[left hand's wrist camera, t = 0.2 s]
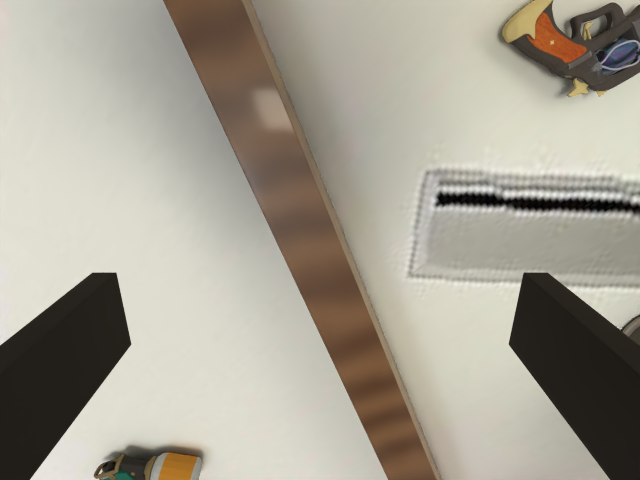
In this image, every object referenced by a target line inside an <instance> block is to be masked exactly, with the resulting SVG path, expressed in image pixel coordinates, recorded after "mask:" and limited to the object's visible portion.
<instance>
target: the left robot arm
mask: <svg viewBox="0 0 640 480" xmlns="http://www.w3.org/2000/svg"><path fill="white" fill-rule="evenodd" d="M130 345H131V341H130V336H129V331H128V326H127V322H126V317H125V312H124V307H123V302H122V298H121V293H120V288H119V283H118V279H117V274H116V273H92V274H90V275H89V276H88V277H86V278H85V279H84V280H83V281H81V282H80V283H79V284H78V285H76V286H75V287H74V288H73V289H71V290H70V291H69V292H67V293H66V294H65V295H64V296H62V297H61V298H60V299H59V300H57V301H56V302H55V303H54V304H52V305H51V306H50V307H49V308H47V309H46V310H45V311H43V312H42V313H41V314H40V315H38V316H37V317H36V318H35V319H33V320H32V321H31V322H30V323H28V324H27V325H26V326H24V327H23V328H22V329H21V330H19V331H18V332H17V333H16V334H14V335H13V336H12V337H11V338H9V339H8V340H7V341H6V342H4V343H3V344H2V345H0V480H30V479H31V477H32V476H33V475H34V473H35V472H36V471H37V469H38V468H39V467H40V465H41V464H42V463H43V461H44V460H45V459H46V457H47V456H48V455H49V453H50V452H51V451H52V449H53V448H54V447H55V445H56V444H57V443H58V441H59V440H60V439H61V437H62V436H63V435H64V433H65V432H66V431H67V429H68V428H69V427H70V425H71V424H72V423H73V421H74V420H75V419H76V417H77V416H78V415H79V413H80V412H81V411H82V409H83V408H84V407H85V405H86V404H87V403H88V401H89V400H90V399H91V397H92V396H93V395H94V393H95V392H96V391H97V389H98V388H99V387H100V385H101V384H102V383H103V381H104V380H105V379H106V377H107V376H108V375H109V373H110V372H111V371H112V369H113V368H114V367H115V365H116V364H117V363H118V361H119V360H120V359H121V357H122V356H123V355H124V353H125V352H126V351H127V349H128V348H129V347H130ZM509 345H510V347H511V348H512V349H513V351H514V352H515V353H516V355H517V356H518V357H519V359H520V360H521V361H522V363H523V364H524V365H525V367H526V368H527V369H528V371H529V372H530V373H531V375H532V376H533V377H534V379H535V380H536V381H537V383H538V384H539V385H540V387H541V388H542V389H543V391H544V392H545V393H546V395H547V396H548V397H549V399H550V400H551V401H552V403H553V404H554V405H555V407H556V408H557V409H558V411H559V412H560V413H561V415H562V416H563V417H564V419H565V420H566V421H567V423H568V424H569V425H570V427H571V428H572V429H573V431H574V432H575V433H576V435H577V436H578V437H579V439H580V440H581V441H582V443H583V444H584V445H585V447H586V448H587V449H588V451H589V452H590V453H591V455H592V456H593V457H594V459H595V460H596V461H597V463H598V464H599V465H600V467H601V468H602V469H603V471H604V472H605V473H606V475H607V476H608V477H609V479H610V480H640V345H638V344H637V343H636V342H634V341H633V340H632V339H631V338H629V337H628V336H627V335H626V334H624V333H623V332H622V331H621V330H619V329H618V328H617V327H616V326H614V325H613V324H612V323H610V322H609V321H608V320H607V319H605V318H604V317H603V316H602V315H600V314H599V313H598V312H597V311H595V310H594V309H593V308H591V307H590V306H589V305H588V304H586V303H585V302H584V301H583V300H581V299H580V298H579V297H578V296H576V295H575V294H574V293H573V292H571V291H570V290H569V289H567V288H566V287H565V286H564V285H562V284H561V283H560V282H559V281H557V280H556V279H555V278H554V277H552V276H551V275H550V274H548V273H524V274H523V279H522V283H521V288H520V293H519V298H518V302H517V307H516V312H515V317H514V322H513V326H512V331H511V336H510V341H509Z"/></svg>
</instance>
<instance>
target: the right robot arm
mask: <svg viewBox="0 0 640 480" xmlns="http://www.w3.org/2000/svg"><path fill="white" fill-rule="evenodd" d="M622 332H623V333H624V334H626V335H627V336H628V337H629V338H631V339H632V340H633V341H634V342H636V343H637V344H638V345H640V316H639V317H638V318H636V319H635V320H633V321H632V322H631V323H630V324H628V325H627V326H626V327H625V329H624V330H623V331H622Z"/></svg>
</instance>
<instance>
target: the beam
mask: <svg viewBox="0 0 640 480" xmlns="http://www.w3.org/2000/svg"><path fill="white" fill-rule="evenodd" d="M163 1H164V3H165V5H166V7H167V9H168V11H169V14H170V16H171V18H172V20H173V22H174V24H175V26H176V29H177V31H178V33H179V35H180V37H181V39H182V41H183V43H184V46H185V48H186V50H187V52H188V54H189V56H190V58H191V60H192V63H193V65H194V67H195V69H196V71H197V73H198V75H199V78H200V80H201V82H202V84H203V86H204V88H205V90H206V92H207V95H208V97H209V99H210V101H211V103H212V105H213V107H214V109H215V112H216V114H217V116H218V118H219V120H220V122H221V124H222V127H223V129H224V131H225V133H226V135H227V137H228V139H229V141H230V144H231V146H232V148H233V150H234V152H235V154H236V156H237V158H238V161H239V163H240V165H241V167H242V169H243V171H244V173H245V176H246V178H247V180H248V182H249V184H250V186H251V188H252V190H253V193H254V195H255V197H256V199H257V201H258V203H259V205H260V207H261V210H262V212H263V214H264V216H265V218H266V220H267V222H268V225H269V227H270V229H271V231H272V233H273V235H274V237H275V239H276V242H277V244H278V246H279V248H280V250H281V252H282V254H283V256H284V259H285V261H286V263H287V265H288V267H289V269H290V271H291V273H292V276H293V278H294V280H295V282H296V284H297V286H298V288H299V291H300V293H301V295H302V297H303V299H304V301H305V303H306V305H307V308H308V310H309V312H310V314H311V316H312V318H313V320H314V322H315V325H316V327H317V329H318V331H319V333H320V335H321V337H322V340H323V342H324V344H325V346H326V348H327V350H328V352H329V354H330V357H331V359H332V361H333V363H334V365H335V367H336V369H337V371H338V374H339V376H340V378H341V380H342V382H343V384H344V386H345V389H346V391H347V393H348V395H349V397H350V399H351V401H352V403H353V406H354V408H355V410H356V412H357V414H358V416H359V418H360V420H361V423H362V425H363V427H364V429H365V431H366V433H367V435H368V438H369V440H370V442H371V444H372V446H373V448H374V450H375V452H376V455H377V457H378V459H379V461H380V463H381V465H382V467H383V469H384V472H385V474H386V476H387V478H388V480H442V478H441V476H440V473H439V471H438V468H437V466H436V463H435V461H434V458H433V456H432V453H431V451H430V448H429V446H428V443H427V441H426V438H425V436H424V433H423V431H422V428H421V426H420V423H419V421H418V418H417V416H416V413H415V411H414V408H413V406H412V403H411V401H410V398H409V396H408V393H407V391H406V388H405V386H404V383H403V381H402V378H401V376H400V373H399V371H398V368H397V366H396V363H395V361H394V358H393V356H392V353H391V351H390V348H389V346H388V343H387V341H386V338H385V336H384V333H383V331H382V328H381V326H380V323H379V321H378V318H377V315H376V313H375V310H374V308H373V305H372V303H371V300H370V298H369V295H368V293H367V290H366V288H365V285H364V283H363V280H362V278H361V275H360V273H359V270H358V268H357V265H356V263H355V260H354V258H353V255H352V253H351V250H350V248H349V245H348V243H347V240H346V238H345V235H344V233H343V230H342V228H341V225H340V223H339V220H338V218H337V215H336V213H335V210H334V208H333V205H332V203H331V200H330V198H329V195H328V193H327V190H326V188H325V185H324V183H323V180H322V178H321V175H320V173H319V170H318V168H317V165H316V163H315V160H314V158H313V155H312V153H311V150H310V147H309V145H308V142H307V140H306V137H305V135H304V132H303V130H302V127H301V125H300V122H299V120H298V117H297V115H296V112H295V110H294V107H293V105H292V102H291V100H290V97H289V95H288V92H287V90H286V87H285V85H284V82H283V80H282V77H281V75H280V72H279V70H278V67H277V65H276V62H275V60H274V57H273V55H272V52H271V50H270V47H269V45H268V42H267V40H266V37H265V35H264V32H263V30H262V27H261V25H260V22H259V20H258V17H257V15H256V12H255V10H254V7H253V5H252V2H251V0H163Z"/></svg>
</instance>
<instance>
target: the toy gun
mask: <svg viewBox="0 0 640 480" xmlns="http://www.w3.org/2000/svg"><path fill="white" fill-rule="evenodd" d="M552 3H553V0H534V1H533V2H531V3H530V4H528V5H527V6H525V7H524V8H522V9H521V10H520V11H518V12H517V13H516V14H515V15H514V16H513V17H512V18H511V19H510V20H509V21H508V22H507V23H506V24H505V26H504V28H503V30H502V35H503V37H504V39H505V41H506V42H507V43H510V42H512V43H513V44H514V45H515V46H516V47H517V48H518V49H519V50H520V51H522V52H523V53H524V54H526V55H527V56H529V57H530V58H532V59H534V60H536V61H538V62H540V63H542V64H544V65H545V66H547V67H548V68H549V69H550V71H551V72H552V73H556V74H557V75H558V76H560V77H564V78H570V79H573V84H574V89H573V90H572V91H571V92H570V93H569V94H568V95H567V96H568V97H572V96H576V95H579V94H586V93H588V91H587V89H586V88H587V87H588V88H590V89H592V90H594V91H597V93H598V96H599V97H600V96H601V95H602V94H604V93H605V92H606V91H608V90H609V89H611V88H613V87H615V86H617V85H619V84H621V83H622V82H624V81H626V80H628V79H629V78H631V77H633V76H634V75H636V74H638V73H639V72H640V5H638V6H637V7H636V8H635V9H634V10H633V11H632V12H631V13H630V14H629V15H628V16H627V17H626V16H624V14H623V11H622V9H621V7H620V6H619V5H618V4H616V3H609V4H607V5H605V6H603V7H602V8H600V9H598V10H596V11H593V12H590V13H586V14H582V15H578V16H576V17H574V18H572V19H571V20H570V24H571V29H572V37H571V38H569V37H568V36H567V35H565V34H564V33H563V32H562V31H561V30H560V29H559V28H558V27H557V26H556V24H555V21H554V18H553V13H552ZM602 15H606V17H607V27H606V30H605V31H604V32H602V33H601V34H599V35H597V36H595V37H594V38H592V39H591V36H590V33H589V27H590V26H591V25H592V24H593V22H589V23H586V24H585V25H584V28H583V33H582V36H581V33H580V27H581V23H583V22H586V21H590V20H593V19H596V18H598V17H600V16H602ZM585 31H586V36H587V39H588V40H586V36H585ZM621 35H622V37H623V38H621V39H620V40H618V41H616V42H615V43H613V44H612V45H610V46H609V47H607V48H606V49H600V48H602V47H603V46H605V45H607V44H608V43H610V42H612V41H613V40H615V39H617V38H618V37H620V36H621ZM582 37H583V39H582ZM598 49H600V50H598ZM597 50H598V51H597ZM595 51H597V52H596V53H595ZM599 51H604V53H603V55H602V57H601V59H600V61H598V58H597V56H596V54H597V53H598V52H599ZM633 59H635V60H634V61H633V62H632V63H631V64H629V65H627V66H624V67H621V66H623V65H625V64H627V63H628V62H630V61H632V60H633ZM620 69H621V70H620ZM615 70H620V71H618V72H616V73H614V74H612V75H610V76H604V73H609V74H610V73H611V72H613V71H615Z"/></svg>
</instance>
